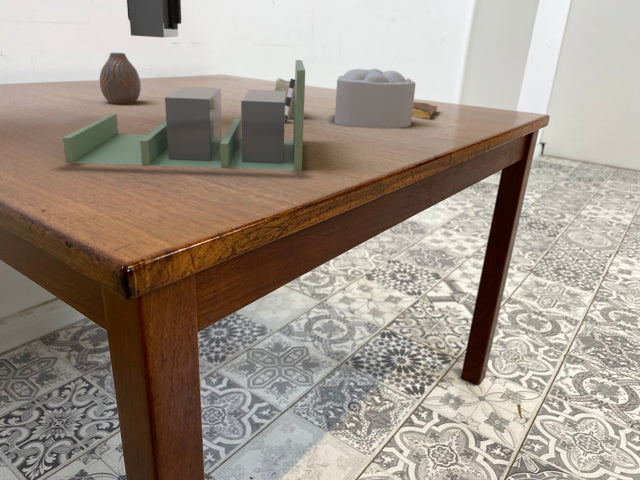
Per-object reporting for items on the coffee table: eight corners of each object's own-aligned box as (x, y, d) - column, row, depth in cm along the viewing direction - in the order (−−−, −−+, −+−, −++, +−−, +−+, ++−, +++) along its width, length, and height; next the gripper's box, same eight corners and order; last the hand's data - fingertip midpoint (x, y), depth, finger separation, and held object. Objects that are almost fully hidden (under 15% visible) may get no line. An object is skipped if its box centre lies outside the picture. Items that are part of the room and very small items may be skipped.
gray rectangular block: (130, 35, 72) (127, -17, 69) (148, 34, 81) (146, -12, 79) (163, 37, 72) (161, -15, 70) (178, 36, 81) (176, -10, 79)
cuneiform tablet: (285, 124, 84) (258, 111, 94) (309, 128, 86) (280, 115, 96) (294, 79, 82) (266, 71, 92) (318, 85, 84) (288, 76, 94)
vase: (127, 100, 100) (122, 51, 97) (149, 104, 96) (146, 54, 93) (94, 102, 95) (88, 51, 91) (117, 107, 91) (111, 54, 88)
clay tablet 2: (241, 162, 56) (241, 100, 54) (248, 142, 66) (248, 89, 63) (283, 163, 57) (284, 102, 54) (284, 144, 66) (285, 91, 63)
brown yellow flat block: (429, 120, 95) (430, 110, 94) (388, 116, 97) (389, 106, 96) (438, 113, 104) (439, 104, 103) (400, 109, 106) (401, 100, 106)
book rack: (66, 171, 53) (51, 58, 49) (112, 141, 67) (103, 50, 63) (301, 179, 55) (305, 70, 51) (299, 148, 69) (302, 60, 64)
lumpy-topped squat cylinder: (336, 116, 94) (339, 66, 91) (408, 120, 94) (413, 70, 91) (333, 126, 85) (336, 70, 82) (413, 131, 84) (420, 75, 81)
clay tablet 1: (168, 159, 56) (164, 97, 53) (185, 140, 65) (183, 86, 63) (210, 160, 56) (209, 99, 54) (222, 141, 65) (220, 88, 63)
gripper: (215, -108, 73) (217, 31, 80) (92, -118, 72) (104, 24, 79) (207, -122, 67) (210, 32, 73) (71, -133, 65) (86, 24, 72)
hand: (155, 26), depth 76 cm, fingers closed on gray rectangular block, 4 cm apart
